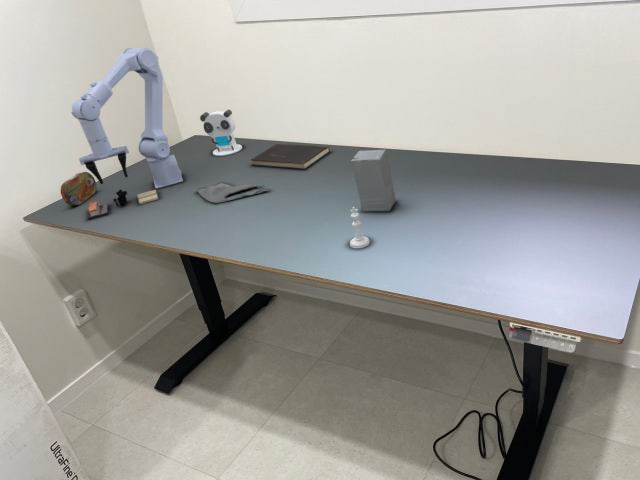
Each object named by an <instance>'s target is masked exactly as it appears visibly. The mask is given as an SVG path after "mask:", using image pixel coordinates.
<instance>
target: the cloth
mask: <svg viewBox="0 0 640 480" xmlns="http://www.w3.org/2000/svg"><path fill="white" fill-rule="evenodd" d="M195 191H196V193H197V194H198V195H199V196H200V197H202V198H203V199H204V200H206V201H207V202H210V203H214V204H220V203H224V202H229V201H234V200H239V199H241V198H246V197H249V196H254V195H259V194H261V193H266V192H269V191H270V190H269V189H264V188H261V186H258V185H256V184H255V185H254V184H241V185H234V186H233V185H230V184H227V183H222V182H220V183H218V184H215V185H211V186H207V187H206V188H204V187H203V188H202V187H201V188H200V189H196V190H195Z"/></svg>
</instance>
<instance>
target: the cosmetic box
mask: <svg viewBox="0 0 640 480" xmlns="http://www.w3.org/2000/svg"><path fill="white" fill-rule="evenodd" d="M387 152H388V151H387V149H372V150H371V149H370V150H369V149H368V150H358V152H356V154H355V155H354V157H353V158H352V159H351V161H350V163H351V166H352V170H353V174H354V180H355V184H356V188H357V193H358V198H359V201H360V206H361V210H362V212H390V211H391V209H392V207H393V206H394V204H395V203H396V201H397V199H396V194H395V189H394V184H393V177H392V173H391V167H390V162H389V156H388V153H387Z"/></svg>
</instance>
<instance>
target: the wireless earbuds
mask: <svg viewBox="0 0 640 480" xmlns="http://www.w3.org/2000/svg"><path fill="white" fill-rule="evenodd" d="M115 194H116V196H118V197H117V198H113V199H112V200H113V203H115V205H116V207H119V206H121V207H124V206H125V205H126V204H127V203H128V199H127V194H128V192H127V190H124V191H123V190H122V189H121V188H120V189H119V190H118V191H116V192H115Z"/></svg>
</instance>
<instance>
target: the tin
mask: <svg viewBox="0 0 640 480" xmlns="http://www.w3.org/2000/svg"><path fill="white" fill-rule="evenodd" d="M96 191H97V182H96V179H95V176H94V175H93V174H92V173H91V172H88V171H82V172H78V173H75V174H74V175H73V176H72V177H70V178H68V179H67V180H66V181H64V182H63V183H62V184H61V186H60V195H61V197H62V199H63V202H64V203H65V204H67V205H69V206H80V205H82V204H83V203H84V202H86V201H87V200H88V199H90V198H91V197H92V196H94V195H95V193H96Z"/></svg>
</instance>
